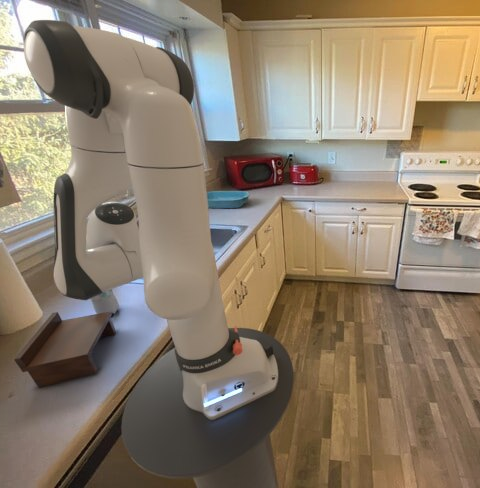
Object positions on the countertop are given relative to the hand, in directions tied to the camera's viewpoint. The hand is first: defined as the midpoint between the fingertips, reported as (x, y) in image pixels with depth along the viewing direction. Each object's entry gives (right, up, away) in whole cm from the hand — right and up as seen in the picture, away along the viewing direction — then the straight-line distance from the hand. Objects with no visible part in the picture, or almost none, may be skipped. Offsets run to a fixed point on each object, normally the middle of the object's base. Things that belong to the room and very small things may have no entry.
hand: (101, 268), depth 80 cm
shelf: (-3, -24, -3) cm, 24 cm away
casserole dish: (-7, +35, +118) cm, 123 cm away
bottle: (-8, -16, +13) cm, 22 cm away
